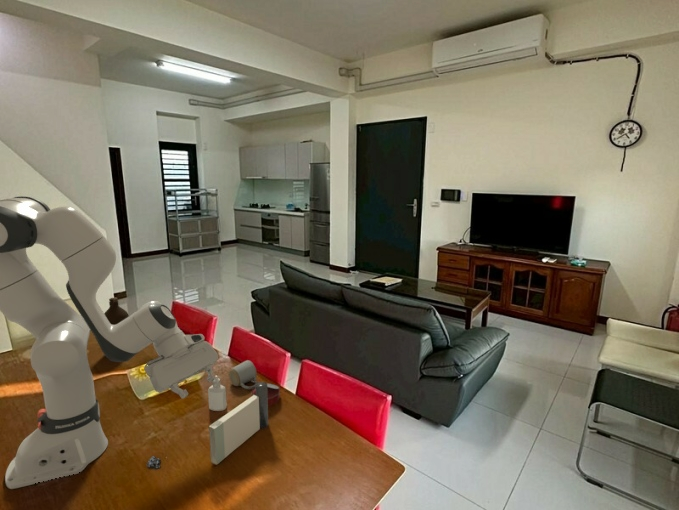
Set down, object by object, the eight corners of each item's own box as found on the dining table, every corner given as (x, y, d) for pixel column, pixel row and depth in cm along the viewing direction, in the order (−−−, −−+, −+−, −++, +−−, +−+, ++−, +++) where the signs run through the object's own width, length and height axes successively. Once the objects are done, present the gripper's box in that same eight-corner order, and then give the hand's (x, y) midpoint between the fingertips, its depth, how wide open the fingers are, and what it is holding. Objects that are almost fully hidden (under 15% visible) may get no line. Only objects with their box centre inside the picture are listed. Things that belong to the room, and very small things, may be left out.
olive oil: (102, 351, 165) (96, 298, 160) (128, 344, 172) (123, 293, 168) (108, 359, 158) (102, 304, 153) (135, 351, 165) (130, 298, 160)
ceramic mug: (227, 383, 140) (227, 365, 139) (245, 375, 147) (244, 357, 145) (244, 394, 134) (244, 374, 132) (262, 384, 140) (262, 366, 138)
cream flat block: (254, 426, 115) (253, 394, 113) (259, 428, 114) (258, 396, 112) (211, 461, 100) (208, 426, 98) (216, 464, 99) (214, 428, 97)
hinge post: (259, 430, 114) (257, 389, 111) (255, 424, 117) (253, 384, 114) (270, 426, 116) (269, 386, 113) (265, 420, 119) (264, 380, 116)
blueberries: (162, 452, 106) (161, 446, 105) (175, 463, 101) (175, 457, 100) (137, 465, 101) (136, 459, 100) (150, 478, 96) (149, 472, 95)
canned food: (252, 408, 133) (246, 380, 135) (279, 399, 136) (273, 372, 139) (255, 411, 123) (249, 381, 125) (284, 402, 126) (278, 373, 128)
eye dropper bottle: (217, 414, 122) (215, 381, 119) (207, 408, 125) (205, 376, 122) (228, 408, 125) (226, 375, 123) (218, 402, 128) (216, 370, 126)
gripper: (145, 359, 99) (171, 402, 96) (206, 332, 116) (230, 368, 113) (137, 369, 102) (162, 412, 99) (198, 342, 119) (221, 377, 116)
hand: (199, 388), depth 106 cm, fingers open, 8 cm apart
